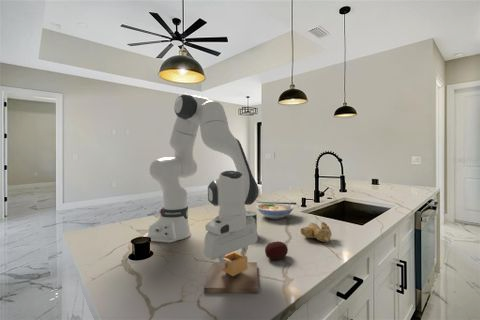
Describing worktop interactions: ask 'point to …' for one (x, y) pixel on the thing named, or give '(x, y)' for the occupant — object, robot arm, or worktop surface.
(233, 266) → the orange square tube
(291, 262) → the worktop surface
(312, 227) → the ginger root
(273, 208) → the ramen bowl
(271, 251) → the potato
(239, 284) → the base plate
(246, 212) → the canned tomato
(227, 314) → the worktop surface
